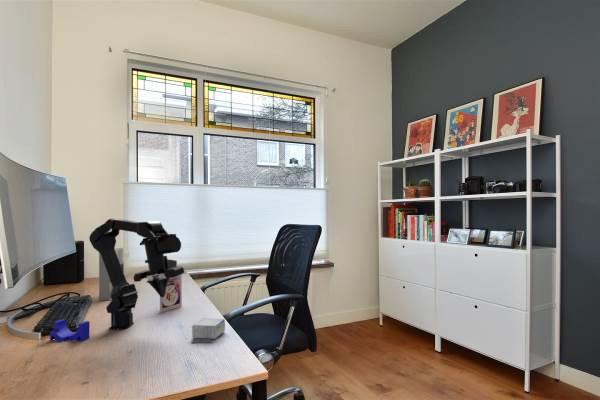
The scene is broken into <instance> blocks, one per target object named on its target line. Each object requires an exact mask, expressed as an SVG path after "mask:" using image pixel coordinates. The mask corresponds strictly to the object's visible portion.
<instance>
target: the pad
mask: <svg viewBox="0 0 600 400" xmlns="http://www.w3.org/2000/svg"><path fill="white" fill-rule="evenodd" d="M212 340H213V339H209V338H193V340H192V341H191V344H207V343H208V344H209V343H211V342H212Z"/></svg>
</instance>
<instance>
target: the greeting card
mask: <svg viewBox="0 0 600 400" xmlns="http://www.w3.org/2000/svg"><path fill="white" fill-rule="evenodd" d="M182 275H183V274H181V275H178V276H176V277H172V278H169V280H168V282H167V286H166V292H165V296H164V297H160V296H159V313H163V312H167V311H170V310H173V309H177V308H181V307H183V304H182V303H183V300H182V299H183V295H182V293H183V292H182V290H183V289H182V285H183V284H182V278H183V277H182Z"/></svg>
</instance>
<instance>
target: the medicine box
mask: <svg viewBox="0 0 600 400" xmlns="http://www.w3.org/2000/svg"><path fill="white" fill-rule="evenodd" d="M225 320H226V319H224V318H215V317H214V318H212V317H208V318H207V317H203V318H201V319H200V320H198V321H196V322H195V323H193V324H192V325H191V331H192V332H191V334H192V339H195V338H209V339H212V340H213V339H214V340H215V339H217V338H218V337H219V336H221V335H222V334H223V333H224V332H225V331H226V321H225Z"/></svg>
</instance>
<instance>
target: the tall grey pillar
mask: <svg viewBox="0 0 600 400" xmlns="http://www.w3.org/2000/svg"><path fill="white" fill-rule="evenodd" d="M114 249H115V252H116V254H117V257H118V260H119V262H120V265H121V268H122V270H123V273H124V274H125V270H124V269H125V265H124V263H125V262H124V261H125V260H124V255H125V254H124V253H125V252H124V251H125V250H124V249H125V248H124V247H115V248H114ZM98 278H99V279H98V292H99V293H98V301H112V298H111V293H112V289H113V286H112V284H111V281H110V278H109V275H108V273H107V270H106V267H105V264H104V262H103V259H102V256H101V254H100V253H99V252H98Z"/></svg>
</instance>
